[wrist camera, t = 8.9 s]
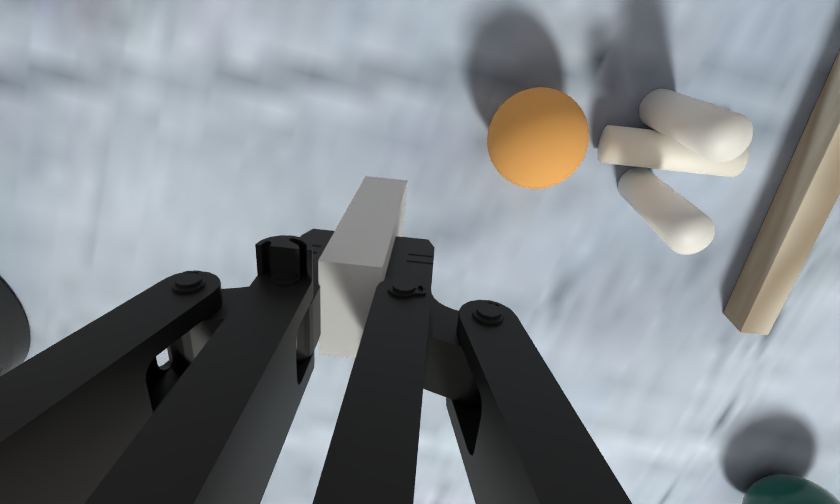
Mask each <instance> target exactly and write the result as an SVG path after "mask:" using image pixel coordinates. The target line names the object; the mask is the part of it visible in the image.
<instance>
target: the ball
mask: <svg viewBox="0 0 840 504" xmlns="http://www.w3.org/2000/svg"><path fill="white" fill-rule="evenodd" d="M588 141H589V130H588V124H587V120H586V117H585V115H584V113H583V111H582V109H581V108H580V106H579V105H578V104H577V103H576V102H575V101H574V100H573V99H572V98H571V97H570V96H568V95H567V94H565V93H563V92H561V91H559V90H555V89H552V88H546V87H536V88H530V89H526V90H523V91H520V92H518V93H516V94H514V95H513V96H511V97H510V98H509V99H507V100H506V101H505V102H504V103H503V104H502V105H501V106H500V107H499V109H498V110H497V111H496V113H495V115H494V116H493V118H492V121H491V123H490V126H489V130H488V136H487V145H488V152H489V156H490V158H491V161H492V163H493V165H494V166H495V168H496V169H497V171H498V172H499V173H500V174H501V175H502V176H503V177H504V178H505V179H507V180H508V181H510V182H511V183H513V184H515V185H518V186H521V187H524V188H531V189H540V188H546V187H550V186H553V185H555V184H558V183H560V182H562V181H563V180H565V179H566V178H568V177H569V176H570V175H571V174H572V173H573V172H574V171H575V170H576V169H577V168H578V166H579V165H580V163H581V162H582V160H583V158H584V156H585V153H586V151H587V147H588Z"/></svg>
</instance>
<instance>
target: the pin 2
mask: <svg viewBox="0 0 840 504" xmlns="http://www.w3.org/2000/svg"><path fill="white" fill-rule="evenodd" d="M618 191H619V193H620V195H621V196H622V197H623V198H624V199H625V200H626V201H627V202H628V203H629V204H630V205H631V206H632V208H633V209H634V210H635V211H636V212H637V213H638V214H639V215H640V216H641V217H642V218H643V219H644V220H645V221H646V222H647V223H648V224H649V226H650V227H651V228H652V229H653V230H654V231H655V232H656V233H657V234H658V235H659V236H660V237H661V238H662V239H663V240H664V241H665V242H666V244H667V245H668V246H669V247H670V248H671V249H672V250H673V251H675V252H677V253H679V254H685V255H688V254H694V253H697V252H699V251H701V250H703V249H704V248H706V247H707V246H708V245H709V244H710V243H711V241H712V240H713V238H714V235H715V224H714V222H713V221H712V219H711V218H710V217H708V216H707V215H706V214H704V213H703V212H702V211H701V210H699V209H698V208H697V207H695V206H694V205H693V204H692V203H690V202H689V201H688V200H687V199H685V198H684V197H683V196H681V195H680V194H679V193H678V192H676V191H675V190H674V189H672V188H671V187H670V186H669V185H667V184H666V183H665V182H663V181H662V180H661V179H660V178H658V177H657V176H656V175H655V174H653V173H652V172H651V171H649V170H648V169H646V168H644V167H634V168H631V169H629V170H627V171H626V172H625V173H624V174H623V175H622V176H621V177H620V179H619V182H618Z"/></svg>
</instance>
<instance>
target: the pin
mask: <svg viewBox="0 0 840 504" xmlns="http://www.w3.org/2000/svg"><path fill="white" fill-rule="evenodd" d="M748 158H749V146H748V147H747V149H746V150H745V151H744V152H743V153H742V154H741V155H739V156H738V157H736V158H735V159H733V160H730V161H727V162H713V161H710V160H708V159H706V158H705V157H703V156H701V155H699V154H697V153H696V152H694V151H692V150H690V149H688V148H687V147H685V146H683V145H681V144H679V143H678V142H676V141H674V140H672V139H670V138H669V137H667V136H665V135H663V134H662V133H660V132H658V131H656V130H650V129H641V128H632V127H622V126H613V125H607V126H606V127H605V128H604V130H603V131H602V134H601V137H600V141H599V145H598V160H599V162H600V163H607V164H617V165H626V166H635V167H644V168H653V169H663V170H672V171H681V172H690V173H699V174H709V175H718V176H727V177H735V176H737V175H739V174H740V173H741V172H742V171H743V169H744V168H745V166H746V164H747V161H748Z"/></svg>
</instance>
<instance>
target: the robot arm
mask: <svg viewBox="0 0 840 504" xmlns="http://www.w3.org/2000/svg"><path fill="white" fill-rule="evenodd" d="M406 192H407V181H406V180H396V179H387V178H377V177H367V176H365V178H364V180H363V182H362V184H361V185H360V187H359V189H358V191H357V192H356V194H355V196H354V198H353V200H352V201H351V203H350V205H349V207H348V208H347V210H346V212H345V214H344V216H343V217H342V219H341V221H340V223H339V224H338V226H337V228H336V230H335V231H329V230H320V229H312V230H310V231H308V232H307V233H305V234H303V235H302V236H301V237H296V236H283V235H281V236H274V237H269V238H266V239H263V240H261V241H259V242H258V243H257V244H255V246H256V259H257V272H258V276H257V277H256V278H255V280H254V281H253V282H252V284H251V285H250V286H249V287H242V288H229V289H221V282H220V279H219V278H218V277H217V276H216V275H214V274H212V273H209V272H202V271H185V272H183V273H179V274H175V275H172V276H170V277H168V278H166V279H164V280H162V281H160V282H159V283H157V284H155V285H154V286H152V287H150V288H149V289H147V290H145V291H143V292H142V293H140V294H138V295H137V296H135V297H133V298H132V299H130V300H128V301H127V302H125V303H123V304H122V305H120V306H118V307H116V308H115V309H113V310H111V311H110V312H108V313H106V314H105V315H103V316H101V317H100V318H98V319H96V320H94V321H93V322H91V323H89V324H88V325H86V326H84V327H83V328H81V329H79V330H78V331H76V332H74V333H73V334H71V335H69V336H67V337H66V338H64V339H62V340H61V341H59V342H57V343H56V344H54V345H52V346H51V347H49V348H47V349H46V350H44V351H42V352H40V353H39V354H37V355H35V356H34V357H32V358H30V359H29V360H27V361H25V362H24V363H22V362H23V361H24V360H25V358H26V356H27V354H28V351H29V347H30V330H29V325H28V322H27V319H26V316H25V314H24V312H23V310H22V308H21V306H20V304H19V302H18V301H17V299H16V298H15V296H14V295H13V293H12V292H11V291H10V290H9V288H8V287H7V286H6V285H5V284H4V283H3V282H2V280H1V279H0V504H260V502H261V500H262V497H263V495H264V492H265V490H266V487H267V484H268V482H269V479H270V477H271V474H272V472H273V469H274V467H275V464H276V462H277V459H278V457H279V454H280V452H281V449H282V447H283V444H284V442H285V439H286V437H287V434H288V432H289V429H290V427H291V424H292V421H293V419H294V416H295V414H296V411H297V409H298V406H299V404H300V401H301V399H302V396H303V394H304V391H305V389H306V386H307V384H308V381H309V379H310V376H311V374H312V371H313V369H314V349H315V347H316V345H317V342H318V340H319V355H328V356H337V357H346V358H355V361H354V365H353V368H352V371H351V375H350V378H349V382H348V385H347V388H346V392H345V395H344V399H343V402H342V405H341V409H340V412H339V416H338V419H337V422H336V426H335V429H334V433H333V436H332V439H331V443H330V446H329V450H328V453H327V456H326V460H325V463H324V467H323V470H322V473H321V477H320V480H319V484H318V487H317V490H316V494H315V497H314V501H313V504H413V499H414V488H415V476H416V465H417V453H418V441H419V430H420V418H421V407H422V395H423V389H426V390H428V391H431V392H434V393H436V394H439V395H442V396H444V397H446V406H447V409H448V413H449V416H450V419H451V423H452V426H453V429H454V433H455V436H456V439H457V443H458V446H459V449H460V453H461V456H462V459H463V463H464V466H465V469H466V473H467V476H468V479H469V483H470V486H471V489H472V493H473V496H474V499H475V503H476V504H632V503H631V501H630V499H629V498H628V496H627V495H626V493H625V491H624V490H623V488H622V486H621V485H620V483H619V482H618V480H617V478H616V477H615V475H614V473H613V472H612V470H611V469H610V467H609V465H608V464H607V462H606V460H605V459H604V457H603V456H602V454H601V452H600V451H599V449H598V447H597V446H596V444H595V443H594V441H593V439H592V438H591V436H590V434H589V433H588V431H587V430H586V428H585V426H584V425H583V423H582V421H581V420H580V418H579V417H578V415H577V413H576V412H575V410H574V408H573V407H572V405H571V404H570V402H569V400H568V399H567V397H566V395H565V394H564V392H563V391H562V389H561V387H560V386H559V384H558V382H557V381H556V379H555V378H554V376H553V374H552V373H551V371H550V369H549V368H548V366H547V365H546V363H545V361H544V360H543V358H542V356H541V355H540V353H539V352H538V350H537V348H536V347H535V345H534V343H533V342H532V340H531V339H530V337H529V335H528V334H527V332H526V330H525V329H524V327H523V326H522V324H521V322H520V321H519V319H518V317H517V316H516V314H515V313H514V312H513V311H512V310H511V309H509V308H508V307H506V306H504V305H502V304H500V303H497V302H494V301H490V300H475V301H470V302H468V303H466V304H463V305H462V307H461V308H460V310H459V311H457V310H454V309H451V308H448V307H446V306H444V305H442V304H441V303H439V302H438V301H437V300H436V299H435V298H434V297H433V295H432V293H431V283H432V271H433V259H434V247H433V245H432V244H431V243H430V241H429V240H426V239H417V238H407V237H403V231H404V218H405V205H406ZM166 348H167V350H168V355H169V361H168V362H166V363H165V364H164V365H162V366H160V367H159V366H158V365H157V360H156V356H157V355H158V354H159V353H161V352H162V351H163V350H165V349H166Z"/></svg>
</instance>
